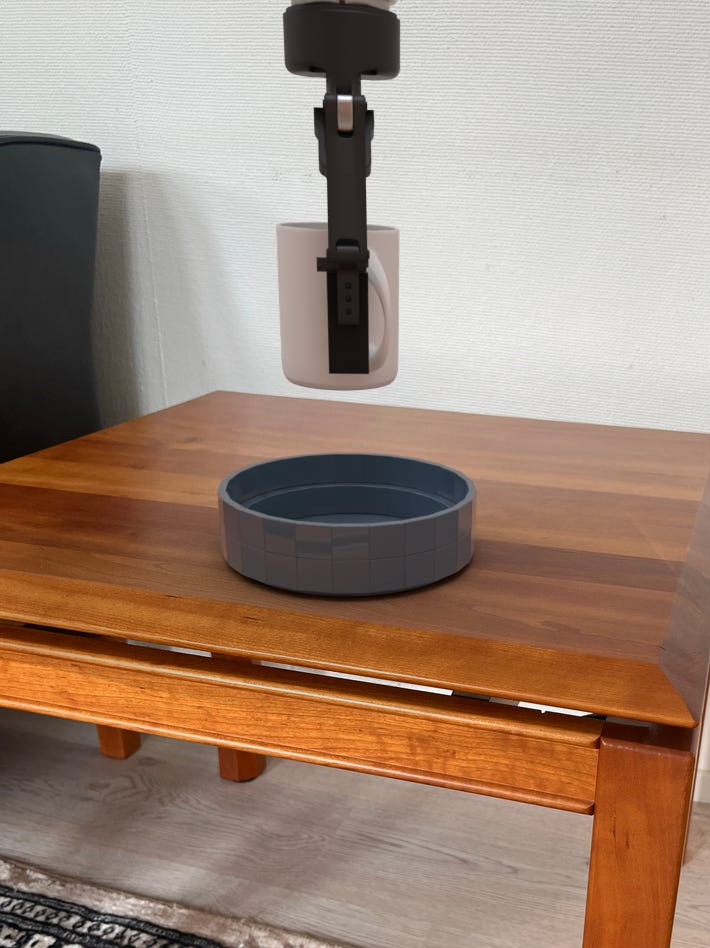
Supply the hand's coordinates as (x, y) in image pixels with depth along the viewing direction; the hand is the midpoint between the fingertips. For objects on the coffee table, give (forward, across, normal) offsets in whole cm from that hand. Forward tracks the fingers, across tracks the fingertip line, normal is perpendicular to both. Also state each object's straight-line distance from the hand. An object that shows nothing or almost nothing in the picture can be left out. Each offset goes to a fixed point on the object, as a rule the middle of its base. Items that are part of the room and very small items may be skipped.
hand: (347, 358), depth 75 cm
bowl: (+15, -2, 0) cm, 15 cm away
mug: (+2, 0, 0) cm, 2 cm away
